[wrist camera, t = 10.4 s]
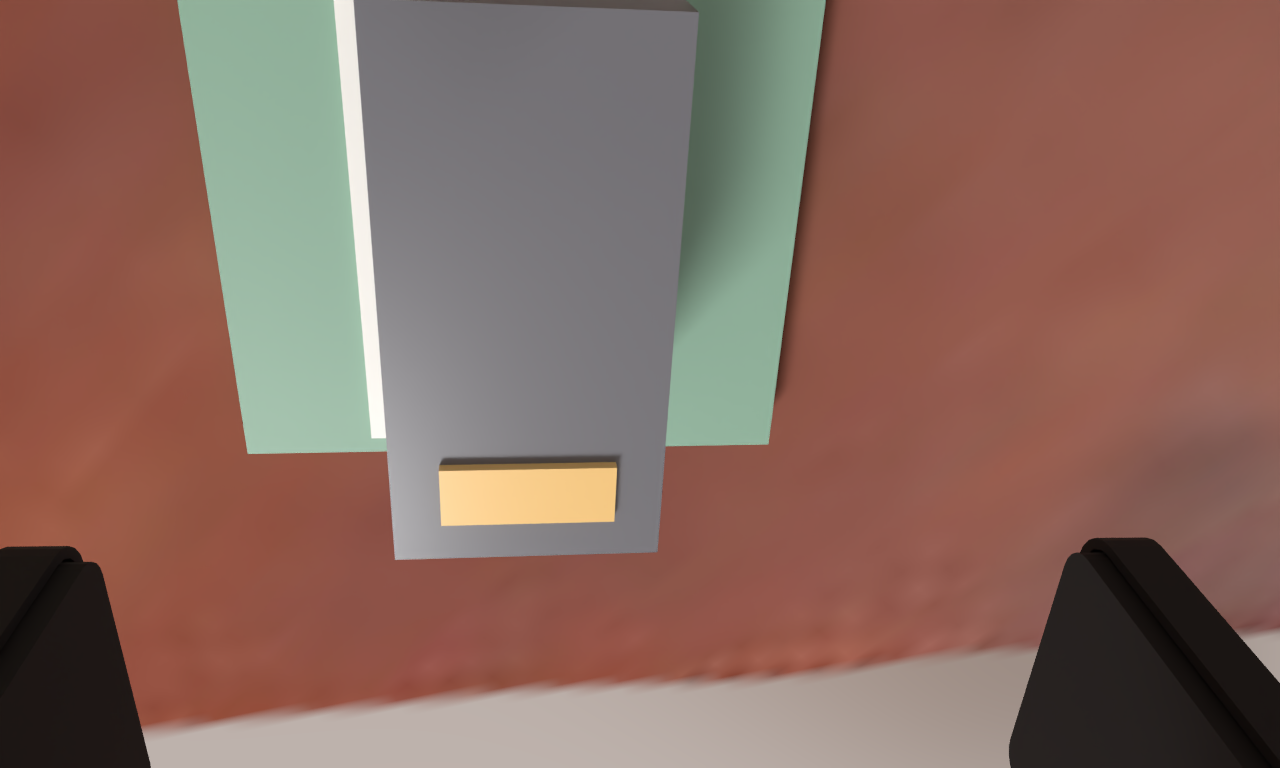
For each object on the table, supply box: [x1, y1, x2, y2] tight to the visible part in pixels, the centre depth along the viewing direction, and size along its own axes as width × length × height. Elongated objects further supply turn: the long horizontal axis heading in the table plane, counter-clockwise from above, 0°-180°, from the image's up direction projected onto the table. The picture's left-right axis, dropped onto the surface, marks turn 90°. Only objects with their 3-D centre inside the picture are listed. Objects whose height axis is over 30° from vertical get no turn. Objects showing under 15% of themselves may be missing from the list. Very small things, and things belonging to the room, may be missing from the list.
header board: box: [177, 0, 826, 454], centre depth 21 cm, size 13×13×5 cm
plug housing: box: [353, 0, 699, 560], centre depth 20 cm, size 5×10×6 cm, turn 177°
